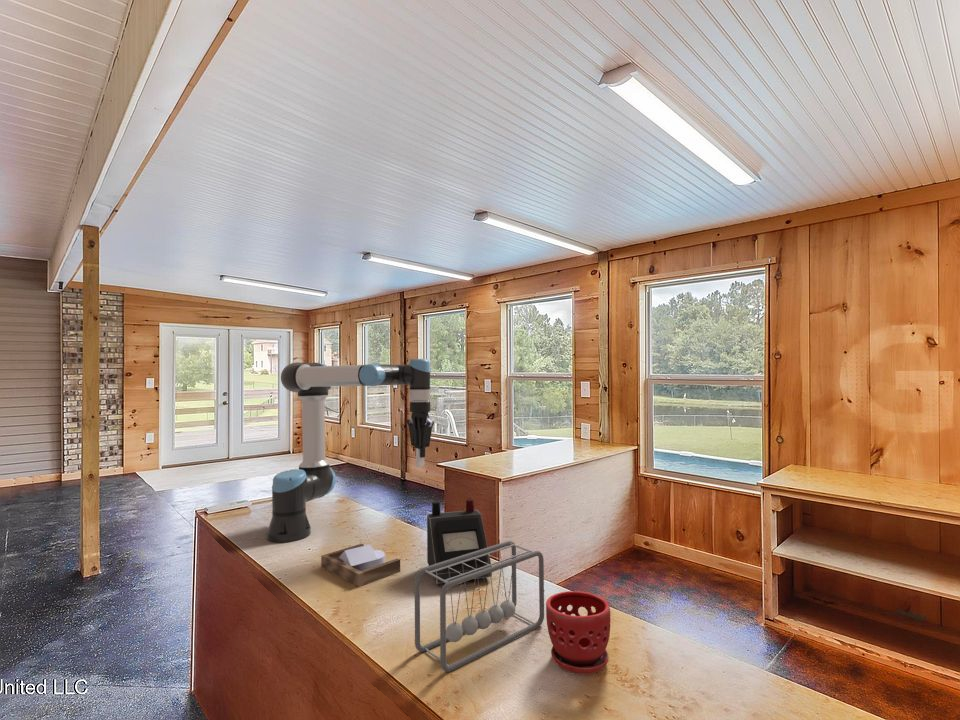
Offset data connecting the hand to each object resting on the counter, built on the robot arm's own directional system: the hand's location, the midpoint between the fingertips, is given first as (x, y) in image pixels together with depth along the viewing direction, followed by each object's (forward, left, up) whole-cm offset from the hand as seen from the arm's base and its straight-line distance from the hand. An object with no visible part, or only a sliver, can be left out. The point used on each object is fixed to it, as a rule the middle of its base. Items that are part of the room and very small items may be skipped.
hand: (420, 466), depth 177 cm
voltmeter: (+32, -12, -27) cm, 43 cm away
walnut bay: (+7, -29, -26) cm, 40 cm away
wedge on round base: (+7, -28, -27) cm, 39 cm away
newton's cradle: (+62, -33, -27) cm, 75 cm away
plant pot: (+82, -26, -27) cm, 90 cm away
